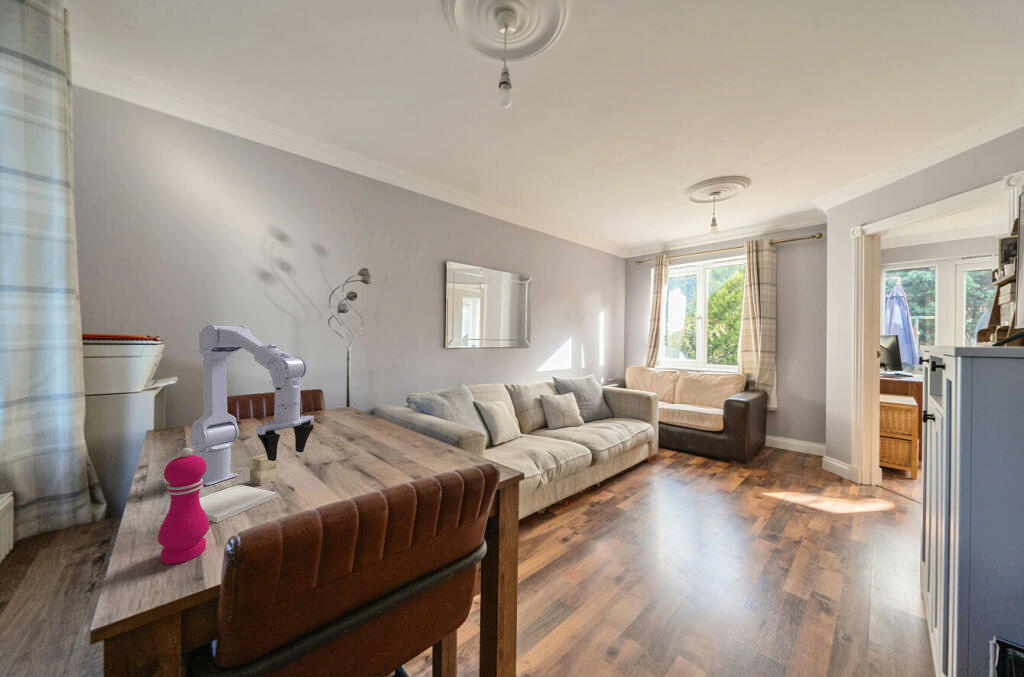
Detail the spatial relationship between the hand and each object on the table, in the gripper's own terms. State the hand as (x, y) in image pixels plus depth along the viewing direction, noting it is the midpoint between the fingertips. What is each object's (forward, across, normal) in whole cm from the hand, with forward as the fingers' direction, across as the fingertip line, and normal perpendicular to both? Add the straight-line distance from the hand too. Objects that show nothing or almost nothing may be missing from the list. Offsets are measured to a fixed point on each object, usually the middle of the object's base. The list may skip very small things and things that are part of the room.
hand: (286, 455), depth 96 cm
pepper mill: (+10, -26, -8) cm, 29 cm away
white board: (+10, -10, +7) cm, 15 cm away
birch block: (+10, +3, +14) cm, 17 cm away
